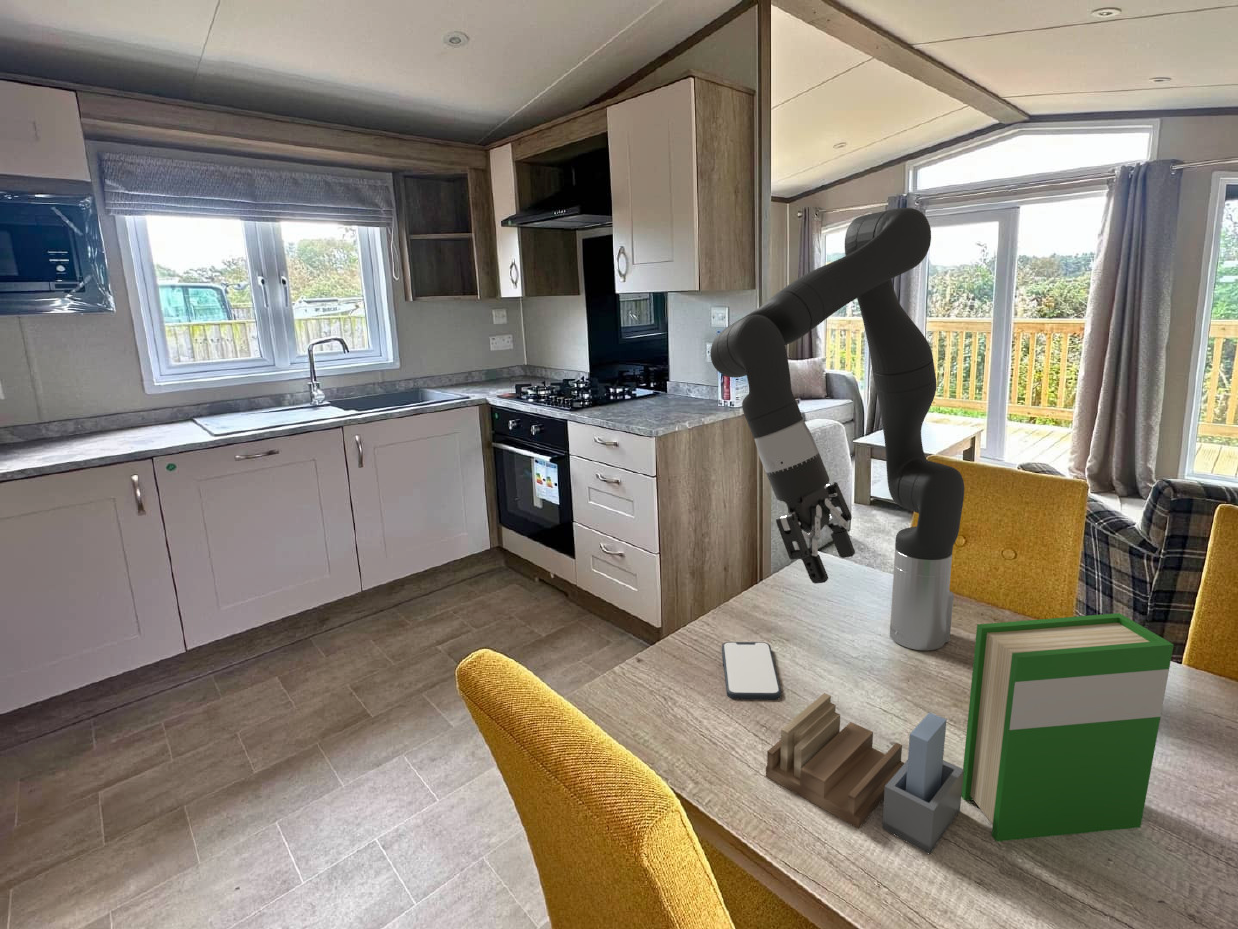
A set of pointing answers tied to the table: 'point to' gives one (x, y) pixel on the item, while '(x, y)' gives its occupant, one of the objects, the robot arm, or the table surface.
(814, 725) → the offcut stack
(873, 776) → the rack
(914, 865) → the table surface
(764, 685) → the notched smartphone
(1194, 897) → the table surface
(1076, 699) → the hardback book
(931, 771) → the blue-grey rectangular block
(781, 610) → the table surface
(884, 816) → the bin
